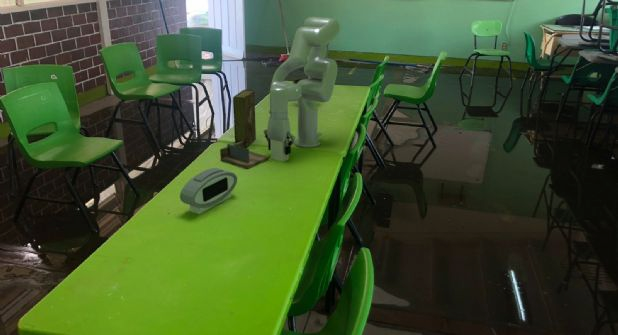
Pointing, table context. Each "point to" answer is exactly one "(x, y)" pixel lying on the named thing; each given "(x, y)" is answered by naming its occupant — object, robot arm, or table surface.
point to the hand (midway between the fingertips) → (279, 151)
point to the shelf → (241, 156)
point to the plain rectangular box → (278, 150)
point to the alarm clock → (208, 189)
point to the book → (244, 117)
